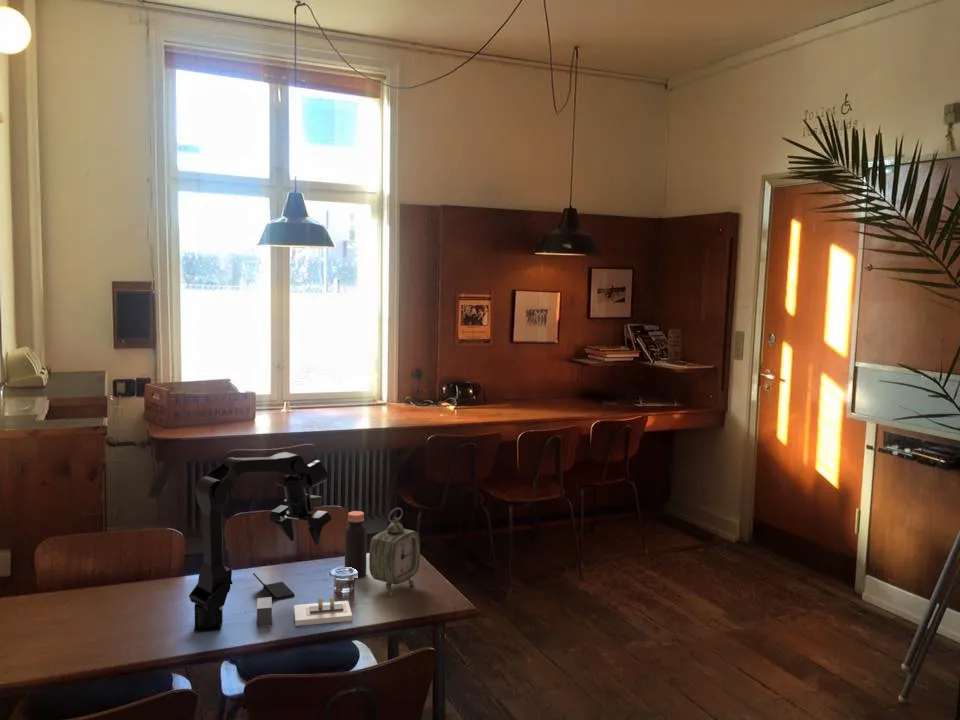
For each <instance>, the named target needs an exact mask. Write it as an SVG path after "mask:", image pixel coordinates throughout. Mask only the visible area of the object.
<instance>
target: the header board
mask: <svg viewBox="0 0 960 720" xmlns="http://www.w3.org/2000/svg"><path fill="white" fill-rule="evenodd" d="M323 599H324V598H323V597H319V598H318V602H317V603H304V604H293V612H294V613H293V614H294V626H295V627H296V626H297V627H298V626H309V625H321V624H330V623H342V622H352V621H353V613H352V610H351V607H350V602H349V600H340V601H339V600H338V601H335V596H330V599H329V601H328V602H323Z"/></svg>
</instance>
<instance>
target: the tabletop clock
mask: <svg viewBox="0 0 960 720" xmlns="http://www.w3.org/2000/svg"><path fill="white" fill-rule="evenodd" d="M395 511H400V516H399V517H396V516H394V517H393V520H391V516H392V514H393V513H394V512H395ZM403 513H404V511H403V509H402V508H401V507H395V508H393V509H391V510H390V512H389V514H388V522H389V523H390V524H389V525H388V526H387V528H386V530H384V531H381V532H379V533H377V534H375V535H374V536H373V537H372V538H371V539H370V542H369V557H368V558H369V559H368V561H369V565H368V566H369V572H370V575H371V577H372V578H373V580H375V581H376V580H377V581H380V582H384V583H385V587H386V588H387V587H388V588H387V589H388V590H389V591H387V596H388V597H390V598H391V597H393V595H394V592H393V591H392V585H395V586H396V585H400V584H402V583H405V582H407V581H408V584H409V585H410V586H412V585H414V582H415V580H414V579H412V578H413V577H414V576H415V575H416V574H417V573H418V570H419V566H420V560H421V559H420V558H421V557H420V556H421V540H420V539H421V538H420V533H419V531H415V530H411V529H407V528H404V526H403V525H402V523H400V522H399V521H400V520H401V519H402V517H403Z"/></svg>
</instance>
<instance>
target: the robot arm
mask: <svg viewBox="0 0 960 720" xmlns="http://www.w3.org/2000/svg"><path fill="white" fill-rule="evenodd" d="M271 472H272V473H273V472H274V473H275V472H276V473H281V474H285V475H286V476H284V475H280V477H279V479H277V481H276V485H278V486H281V487H283V488H284V492H285V499H283V504H284V505H283V504H280V505H278V506H277V507H276V508H274V509H272V510H271V511H270V512H269V516H268V517H269V521H270V522H271V523H272V522H273V524H274V525H276V526H277V527H278V528H279V529H280V531H282V532H283V534H284V535H285V536H286V537H287V538H288V540H289V541H290V542H293V541H294V540H295V534H294V527H293V519H294V520H301V521H307V524H308V532H309V533H310V536H311V539H312V543H314V545H315V546H318V545H319V544H320V538H321V533H322V529H323V527H324V526H326V525H327V524H328V523H329V522H331V521H332V515H331V512H329V511H326V510H317V511H316V512H314V513H310V512H313V511H314V509H315V508H321V507H322V495H314V494H309V493H308V492H307V491H306V488H307V489H311V488H313V487H315V486H317V485H320V484H322V483H324V482H325V481H327V480H328V478H329V476H328V475H329V473H328V471H327V470H326V468H325V466H324V465H323V464H322V461H321V460H318V459H315V460H314V461H312V462H311V463H308V464H307V463H305V461H304V458H303V456H302V455H300V454H295V453H291V452H288V451H283V452H278V453H276V454H273V455H271V456H258V457H254V456H253V457H233V456H231V457H227V458H226V459H225V460H224V461H223V462H222V463H220V464H219V465H218V466H216V467H214V468H213V469H211V470H210V471H209V472H207V474H205V476H203V477H201V478H200V479H199V480H198V481H197V482H196V483H195V488H194V492H195V496H196V497H195V498H196V501H197V504H198V505H199V507H200V509H201V512H202V538H203V541H202V544H203V565H202V567H201V569H200V571H199V574H198V581H197V584H196V585H195V587H194V588H193V589H192V591H191V592H190V593H189V595H188V597H189V600H190V602H191V603H193V604H194V626H193V632H194V633H199V632H211V631H219V630H220V629H221V626H222V624H223V620H224V617H223V616H224V615H223V611H224V610H223V609H224V608H223V606H225V604H226V600H227V597H228V593H230V591H231V585H233V581H232V576H233V574H232V573H233V571H232V568H229V567H227V566H225V565H224V543H223V538H224V537H223V510H224V508H225V506H226V505H227V502H228V497H229V495H228V494H229V492H230V491H231V490H232V489H233V488H234V487H235V485H236V483H237V481H238V478H239V477H240V475H241V474H248V473H249V474H250V473H251V474H252V473H271Z"/></svg>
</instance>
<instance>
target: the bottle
mask: <svg viewBox="0 0 960 720" xmlns="http://www.w3.org/2000/svg"><path fill="white" fill-rule="evenodd" d="M364 521H365V513H364V512H363V511H360V510H353V511H350V512H348V513H347V522H348V525H347V526H346V527H345V528H344V529H345V530H344V568H345V567H352V568H354V569H356V570H357V571H358V579H362V578H364V577H365V576H366V575H367V552H368V551H367V549H368V545H367V543H368V539H367V538H368V537H367V536H368V534H367V533H368V530H367V529H368V528H367V527H366V526H365V524H363V523H364Z"/></svg>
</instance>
